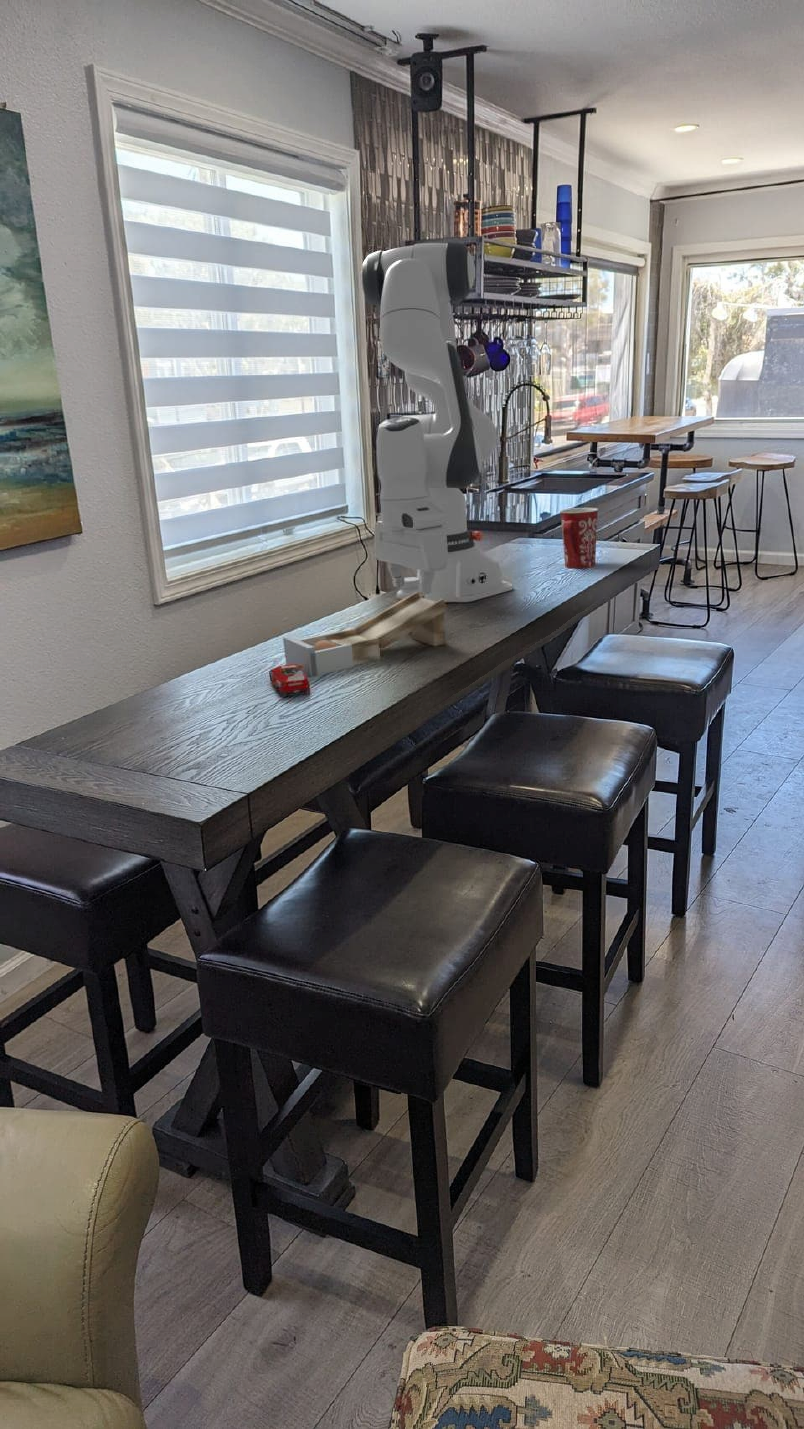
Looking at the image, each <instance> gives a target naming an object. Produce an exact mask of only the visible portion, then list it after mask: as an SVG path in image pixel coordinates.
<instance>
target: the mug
mask: <svg viewBox="0 0 804 1429" xmlns="http://www.w3.org/2000/svg"><path fill="white" fill-rule="evenodd" d="M598 512H599V509H598V508H596V507H595V508H594V507H574V508H573V507H572V508H566V509H561V510H560V511H559V513H560V514H559V515H560V519H561V520H560V521H561V533H562V544H563V555H564V557H563V558H564V566H565V567H566V568H571V569H584V568H592V567H593V566H595V565H596V549H597V531H598V530H597V529H598V514H599V513H598Z"/></svg>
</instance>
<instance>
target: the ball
mask: <svg viewBox="0 0 804 1429" xmlns="http://www.w3.org/2000/svg"><path fill="white" fill-rule="evenodd" d="M333 647H335V645H334V644H333V643H332V642H330V641H327V640H322V641H319V642H317V643H316V644H315V645H314V648H315V651H319V650H324V649H328V648H333Z"/></svg>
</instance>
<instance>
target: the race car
mask: <svg viewBox="0 0 804 1429" xmlns="http://www.w3.org/2000/svg"><path fill="white" fill-rule="evenodd" d="M302 667H303V666H302V665H301V666H299V665H297V664H289V665H286V664H284V665H279V666H276V667H273V668H272V669H270V670H269V671H268V675H269V680H270V683H271V684H272V686H273V687H274V689H275V691H276V692H277V693H278V695H279V697H287V696H288V697H289V696H294V695H301V694H307V693H310V692H311V684H310V680H309V678H308V676H307V675H306V674H304V673H303V671H302V670H301V668H302Z"/></svg>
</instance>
